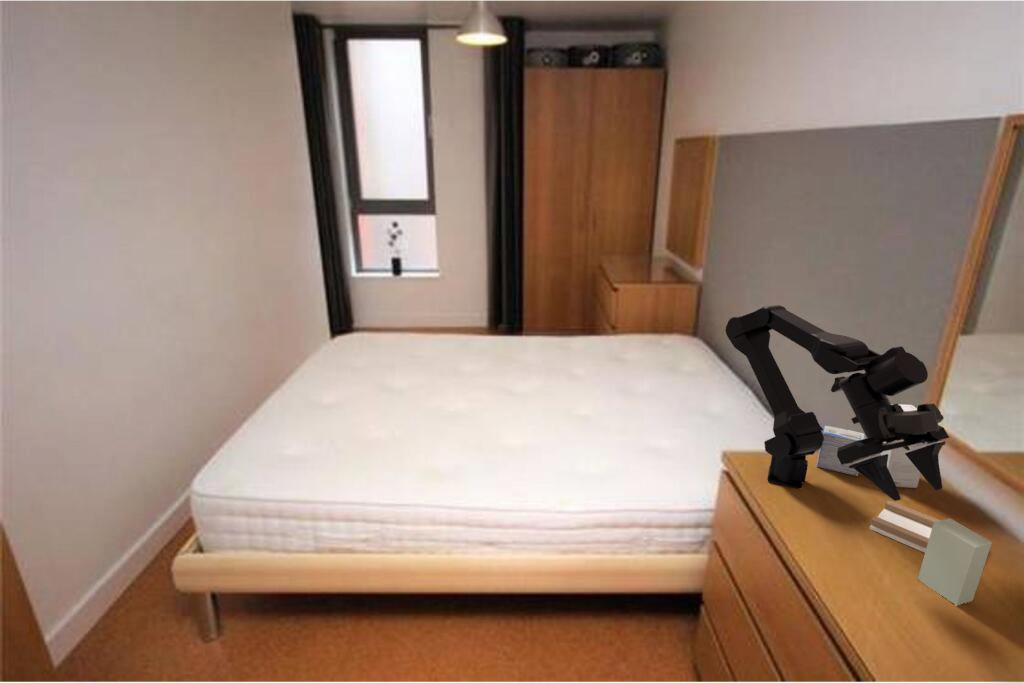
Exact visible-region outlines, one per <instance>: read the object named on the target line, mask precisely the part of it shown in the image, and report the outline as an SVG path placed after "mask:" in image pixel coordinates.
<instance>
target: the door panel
mask: <svg viewBox="0 0 1024 683" xmlns="http://www.w3.org/2000/svg"><path fill="white" fill-rule="evenodd" d="M992 544H993V542H992V541H990V540H988V539H987V538H985V537H983V536H982V535H980V534H979V533H977V532H974V531H972V530H971V529H969V528H968V527H966V526H964V525H962V524H961V523H959V522H957V521H956V520H954V519H952V518H950V517H949V518H945V519H942V520H941V521H938V522H935V523H934V524H933V527H932V531H931V534H930V538H929V541H928V545H927V548H926V552H925V553H924V556H923V560H922V562H921V565H920V570H919V572H918V576H917V580H918V581H920V582H921V583H922V584H924V585H925V586H926V587H928V588H929V587H930V588H929V589H931V590H932V589H933V590H932V591H934V592H935V591H936V592H937V593H936V592H935V593H936V594H938V593H939V594H940V595H939V594H938V595H939V596H941V595H942V596H944V597H945V598H947V599H948V600H949V601H951V602H952V603H954V604H955V605H956V606H957V605H960V604H963V603H965V602H968V601H971V600H974V598H975V595H976V592H977V590H978V585H979V582H980V580H981V578H982V574H983V570H984V567H985V565H986V561H987V559H988V555H989V552H990V549H991V546H992ZM942 596H941V597H942ZM945 598H944V599H945ZM948 600H947V601H948ZM949 601H948V602H949ZM971 602H972V601H971ZM952 603H951V604H952ZM968 603H969V602H968ZM965 604H966V603H965ZM955 605H954V606H955ZM963 605H964V604H963ZM956 606H955V607H956ZM960 606H961V605H960ZM957 607H958V606H957Z"/></svg>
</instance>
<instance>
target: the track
mask: <svg viewBox="0 0 1024 683" xmlns="http://www.w3.org/2000/svg"><path fill="white" fill-rule="evenodd" d="M938 521H942V520H940V519H937V518H935V517H933V516H930V515H928V514H925V513H923V512H920V511H917V510H915V509H912V508H910V507H907V506H905V505H902V504H900V503H896V502H895V501H893V500H892V501H891V500H887V501H886V502H885V505H884V508H883V510H882V511H881V512H880V513H879V514H878V516H876V515H874V517H873V518H872V519H871V523H870V525H869V530H871V531H874V532H875V533H877V534H880V535H883V536H885V537H887V538H890V539H893V540H894V541H897V542H898V543H901V544H904V545H906V546H908V547H910V548H913V549H915V550H918V551H920V552H922V553H924V554H925V552H926V548H927V545H928V541H929V538H930V534H931V531H932V527H933V524H934V523H935V522H938Z"/></svg>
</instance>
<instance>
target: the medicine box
mask: <svg viewBox="0 0 1024 683" xmlns="http://www.w3.org/2000/svg"><path fill="white" fill-rule="evenodd" d="M822 433H823V436H824V441H823V443H822V446H821V448H820V449H818V456H817V462H816V467H818V468H821V469H825V470H830V471H834V472H838V473H843V474H845V475H851V476H855V477H858V476H859V472H858V471H856V470H855V469H853V468H852V469H850V468H849V466H850V465H853V464H854V462H853V463H849V464H844V465H841V463H840V461H839V459H838V457H837V450H838V448H839V447H842V446H845V445H847V444H850V443H852V442H855V441H857V440H862V439H866V435H865V433H864V432H859V431H855V430H848V429H845V428H840V427H835V426H830V425H824V426H823V430H822Z"/></svg>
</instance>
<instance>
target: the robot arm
mask: <svg viewBox="0 0 1024 683" xmlns="http://www.w3.org/2000/svg"><path fill="white" fill-rule="evenodd" d="M772 330H773V331H775V332H777V333H778V334H780V335H781V336H783V337H785V338H786V339H788V340H790V341H792V342H793V343H794V344H797V345H798V346H800V347H801V348H803V349H805V350H806V351H808V353H810V355H811V358H812V359H813V361H814V362H815V363H816V364H817V365H818V366H820V368H822V369H823V370H824V371H825V372H826V373H828V374H831V375H839V374H846V373H852V374H850V375H849V376H845V375H844V376H837V377H835V378H834V383H833V384H832V386H831V389H830V391H831V393H837V392H843V394H844V396H845V398H846V400H847V402H848V403H849V406H850V408H851V409H852V411H853V414H854V415H855V416H854V417H852V418H851V419H850V420H851V421H852V423H853V425H856V424H860V425H859V426H860V427H861V429H862V431H863V433H864V434H865V439H862V440H857V441H855V442H852V443H850V444H847V445H845V446H842V447H839V448H838V450H837V457H838V459H839V461H840V463H841V465H844V464H849V463H853V462H854V464H853V465H850V466H849V468H850V469H852V468H853V469H855V470H856V471H858V474H860V475H862V476H863V477H864V478H866V479H868V480H869V481H870V482H871V483H872V484H874V485H875V486H876V487H877V488H878V489H880V490H881V491H882V492H883V493H884V494H886V495H887V496H888V497H889V498H890V499H891V500H892V501H893V502H896V501H901V500H902V499H901V498H902V497H901V496H900V491H899V489H898V487H896V485H895V483H894V481H893V478H892V476H891V474H890V472H889V470H888V468H887V461H888V454H886V455H881V454H880V453H882V452H883V451H888V450H892V449H897V448H901V447H903V448H905V449H906V450H910V451H911V452H908V453H905V455H906V456H907V457H908V458H909V460H910V461H911V462H912V463H913V464H914V466H915V467H916V468H917V469H918V470H919V472H920V475H922V477H923V478H924V479H925V480H926V481H927V483H928V484H929V485H930V486H931V487H932V488H933V489H934V490H935V491H938V490H942V489H943V483H942V476H941V474H942V473H941V470H940V463H939V462H940V461H939V460H940V459H939V453H940V452H941V449H942V448H943V446H945V445H946V443H947V442H946V441H944V440H948V439H949V438H950V436H949V434H948V432H947V431H946V429H945V427H944V426H941V425H939V423H942V421H943V420H944V418H945V417H944V416H943V414H942V413H941V411H940V409H939V408H938V407H937V406H936V404H935V403H922V404H918V405H917V407H916V408H917V411H916V410H914V411H903V409H902V407H901V406H900V405H898V404H899V403H894V404H893V405H892V403H891V401H890V399H889V397H895V396H897V395H899V394H900V393H903V392H905V391H908V390H910V389H912V388H914V387H916V386H919V385H921V384H924V383H925V382H926V381H927V379H928V377H929V375H928V369H927V367H926V365H925V363H924V362H923V361H921V360H920V359H919V358H918V357H917V356H915V355H914V354H912V353H910V352H907V351H906V349H905V348H904V347H903V346H901V345H900V346H894V347H891V348H890V349H887V350H886V351H885V352H884V353H883V354H880V353H878V352H875V351H874V350H871V349H870V348H869V347H868V345H867V344H866V343H865V342H863V341H862V340H860V339H856V338H855V337H854V338H853V337H850V336H847V335H842V334H836V333H831V332H828V331H826V330H824V329H822V328H820V327H818V326H816V325H815V324H813V323H811V322H809V321H807V320H806V319H803V318H802V317H800V316H799V315H797V314H794V313H793V312H791V311H789V310H787V309H786V307H784V306H782V305H780V304H777V305H768V306H762V307H761V308H758V309H757V310H754V311H753V312H750V313H746V314H743V315H740V316H733V317H731V318H730V319H728V322H727V324H726V326H725V334H726V336H727V338H728V340H729V341H730V343H731V344H732V346H733V347H734V349H736V350H738V351H739V353H741V354H742V355H744V356H745V357H746V358H747V361H748V363H749V365H750V367H751V370H752V372H753V374H754V376H755V377H756V379H757V381H758V384H759V385H760V388H761V391H762V393H763V394H764V397H765V399H766V401H767V403H768V405H769V407H770V409H771V411H772V414H773V416H774V417H773V418H774V419H773V426H772V431H773V434H774V436H773V437H771V438H769V439H766V440H764V451H765V452H766V453H767V454H769V455H771V458H770V465H769V468H768V473H767V474H768V475H767V479H766V480H768V481H767V482H769V481H770V482H769V483H773V482H774V483H773V484H777V483H779V484H778V485H781V484H783V485H782V486H786V487H790V488H795V489H798V490H801V489H802V487H803V484H804V483H806V478H807V472H808V467H809V466H808V464H809V462H808V459H806V458H807V456H811V455H812V456H813V455H814V454H815V453H816V451H819V449H820V448H821V446H822V443H823V441H824V436H823V429H824V427H822V426H821V425H820V423H819V421H818V419H817V416H816V414H815V413H814V412H813V411H809V412H805V411H804V410H803V409H801V408H800V406H798V403H797V401H796V400H795V398H794V395H793V393H792V392H791V389H790V387H789V385H788V383H787V382H786V380H785V377H784V376H783V374H782V371H781V369H780V367H779V365H778V363H777V362H776V359H775V358H774V356H773V353H772V351H771V349H770V340H771V332H770V331H772ZM861 371H864V373H862V372H861ZM854 372H855V373H854ZM896 440H897V441H896ZM883 442H886V443H883Z"/></svg>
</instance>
